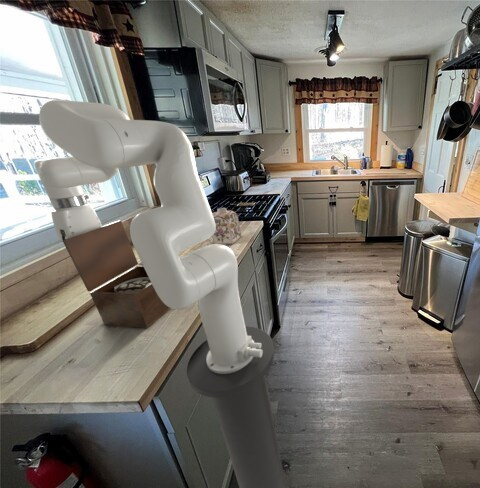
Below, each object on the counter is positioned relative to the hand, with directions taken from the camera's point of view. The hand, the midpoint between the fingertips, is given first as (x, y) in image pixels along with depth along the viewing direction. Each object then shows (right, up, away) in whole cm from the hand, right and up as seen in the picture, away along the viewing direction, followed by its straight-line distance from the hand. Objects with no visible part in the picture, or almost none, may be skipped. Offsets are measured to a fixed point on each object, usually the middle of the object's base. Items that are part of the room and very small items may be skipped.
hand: (94, 258), depth 83 cm
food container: (+14, -17, +5) cm, 22 cm away
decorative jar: (+20, +7, +62) cm, 65 cm away
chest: (+14, -18, +5) cm, 23 cm away
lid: (+5, +2, -2) cm, 6 cm away
